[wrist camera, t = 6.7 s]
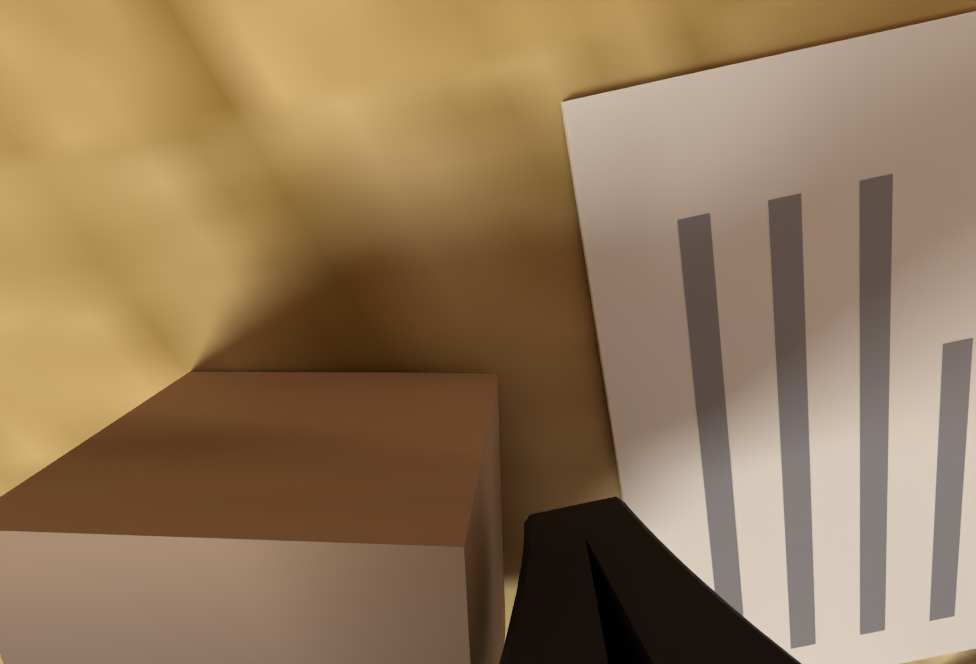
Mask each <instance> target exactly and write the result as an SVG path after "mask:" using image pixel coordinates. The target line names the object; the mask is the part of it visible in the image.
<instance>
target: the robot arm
mask: <svg viewBox="0 0 976 664" xmlns="http://www.w3.org/2000/svg"><path fill="white" fill-rule="evenodd" d="M499 664H801V663H800V662H799V661H798V660H796V659H795V658H794V657H792V656H791V655H790V654H789V653H787V652H786V651H785V650H784V649H783V648H781V647H780V646H779V645H778V644H776V643H775V642H774V641H773V640H771V639H770V638H769V637H768V636H766V635H765V634H764V633H763V632H761V631H760V630H759V629H758V628H756V627H755V626H754V625H753V624H752V623H750V622H749V621H748V620H747V619H746V618H744V617H743V616H742V615H741V614H740V613H739V612H737V611H736V610H735V609H734V608H733V607H731V606H730V605H729V604H728V603H727V602H726V601H725V600H724V599H722V598H721V597H720V596H719V595H718V594H717V593H716V592H715V591H714V590H712V589H711V588H710V587H709V586H708V585H707V584H706V583H705V582H703V581H702V580H701V579H700V578H699V577H698V576H697V575H696V574H694V573H693V572H692V571H691V570H690V569H689V568H688V567H687V566H686V565H685V564H684V563H683V562H682V561H681V560H680V559H678V558H677V557H676V556H675V555H674V554H673V553H672V552H671V551H670V550H669V549H668V548H667V547H666V546H665V545H664V544H663V543H662V542H661V541H660V540H659V539H658V538H657V537H656V536H655V535H654V534H653V533H652V532H651V531H650V530H649V529H648V528H647V527H646V525H645V524H644V523H643V522H642V521H641V520H640V519H639V518H638V517H637V516H636V515H635V514H634V512H633V511H632V510H631V509H630V508H629V507H628V506H627V504H626V503H625V502H623V501H622V500H620V499H619V498H617V497H612V498H607V499H602V500H597V501H593V502H588V503H583V504H578V505H574V506H569V507H564V508H559V509H554V510H550V511H545V512H540V513H535V514H530V516H529V517H528V518H527V520H526V521H525V522H524V547H523V556H522V564H521V570H520V576H519V582H518V588H517V593H516V597H515V601H514V606H513V610H512V614H511V619H510V623H509V628H508V632H507V636H506V640H505V644H504V648H503V652H502V655H501V658H500V662H499Z"/></svg>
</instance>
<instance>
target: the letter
mask: <svg viewBox="0 0 976 664" xmlns="http://www.w3.org/2000/svg"><path fill="white" fill-rule="evenodd" d="M561 109H562V115H563V122H564V128H565V135H566V141H567V147H568V154H569V160H570V167H571V173H572V180H573V186H574V192H575V199H576V205H577V212H578V218H579V225H580V231H581V237H582V244H583V250H584V257H585V263H586V270H587V276H588V283H589V289H590V295H591V302H592V308H593V315H594V321H595V328H596V334H597V340H598V347H599V353H600V360H601V366H602V373H603V379H604V385H605V392H606V398H607V405H608V411H609V418H610V424H611V431H612V437H613V443H614V450H615V456H616V463H617V469H618V476H619V482H620V488H621V495H622V501H623V502H625V503H626V504H627V506H628V507H629V508H630V509H631V510H632V511H633V512H634V514H635V515H636V516H637V517H638V518H639V519H640V520H641V521H642V522H643V523H644V524H645V525H646V527H647V528H648V529H649V530H650V531H651V532H652V533H653V534H654V535H655V536H656V537H657V538H658V539H659V540H660V541H661V542H662V543H663V544H664V545H665V546H666V547H667V548H668V549H669V550H670V551H671V552H672V553H673V554H674V555H675V556H676V557H677V558H678V559H680V560H681V561H682V562H683V563H684V564H685V565H686V566H687V567H688V568H689V569H690V570H691V571H692V572H693V573H694V574H696V575H697V576H698V577H699V578H700V579H701V580H702V581H703V582H705V583H706V584H707V585H708V586H709V587H710V588H711V589H712V590H714V591H715V592H716V593H717V594H718V595H719V596H720V597H721V598H722V599H724V600H725V601H726V602H727V603H728V604H729V605H730V606H731V607H733V608H734V609H735V610H736V611H737V612H739V613H740V614H741V615H742V616H743V617H744V618H746V619H747V620H748V621H749V622H750V623H752V624H753V625H754V626H755V627H756V628H758V629H759V630H760V631H761V632H763V633H764V634H765V635H766V636H768V637H769V638H770V639H771V640H773V641H774V642H775V643H776V644H778V645H779V646H780V647H781V648H783V649H784V650H785V651H786V652H787V653H789V654H790V655H791V656H792V657H794V658H795V659H796V660H798V661H799V662H800V663H801V664H901V663H906V662H911V661H916V660H921V659H926V658H931V657H936V656H941V655H946V654H951V653H956V652H961V651H966V650H971V649H976V11H974V12H969V13H965V14H960V15H955V16H951V17H946V18H942V19H937V20H933V21H928V22H924V23H919V24H915V25H910V26H905V27H901V28H896V29H892V30H887V31H883V32H878V33H874V34H869V35H864V36H860V37H855V38H851V39H846V40H842V41H837V42H833V43H828V44H823V45H819V46H814V47H810V48H805V49H801V50H796V51H792V52H787V53H782V54H778V55H773V56H769V57H764V58H760V59H755V60H751V61H746V62H741V63H737V64H732V65H728V66H723V67H719V68H714V69H710V70H705V71H701V72H696V73H691V74H687V75H682V76H678V77H673V78H669V79H664V80H660V81H655V82H650V83H646V84H641V85H637V86H632V87H628V88H623V89H619V90H614V91H609V92H605V93H600V94H596V95H591V96H587V97H582V98H578V99H573V100H568V101H564V102H561Z"/></svg>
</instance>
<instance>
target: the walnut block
mask: <svg viewBox="0 0 976 664" xmlns="http://www.w3.org/2000/svg"><path fill="white" fill-rule="evenodd" d="M504 640H505V598H504V563H503V528H502V493H501V458H500V423H499V388H498V373H380V372H206V371H190V372H189V373H187V374H186V375H184V376H183V377H181V378H180V379H178V380H177V381H175V382H174V383H172V384H171V385H169V386H168V387H166V388H165V389H163V390H162V391H160V392H159V393H157V394H156V395H154V396H153V397H151V398H150V399H148V400H147V401H145V402H143V403H142V404H140V405H139V406H137V407H136V408H134V409H133V410H131V411H130V412H128V413H127V414H125V415H124V416H122V417H121V418H119V419H118V420H116V421H115V422H113V423H112V424H110V425H109V426H107V427H106V428H104V429H103V430H101V431H100V432H98V433H97V434H95V435H94V436H92V437H91V438H89V439H88V440H86V441H84V442H83V443H81V444H80V445H78V446H77V447H75V448H74V449H72V450H71V451H69V452H68V453H66V454H65V455H63V456H62V457H60V458H59V459H57V460H56V461H54V462H53V463H51V464H50V465H48V466H47V467H45V468H44V469H42V470H41V471H39V472H38V473H36V474H35V475H33V476H32V477H30V478H29V479H27V480H25V481H24V482H22V483H21V484H19V485H18V486H16V487H15V488H13V489H12V490H10V491H9V492H7V493H6V494H4V495H3V496H1V497H0V655H1V657H2V660H3V662H4V664H499V662H500V658H501V655H502V652H503V648H504Z"/></svg>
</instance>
